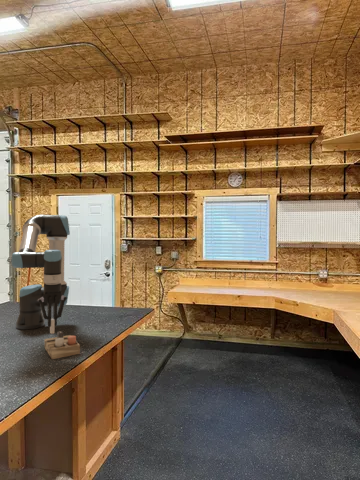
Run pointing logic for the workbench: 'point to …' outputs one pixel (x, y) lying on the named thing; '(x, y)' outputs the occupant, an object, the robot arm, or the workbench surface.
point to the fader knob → (59, 334)
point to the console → (61, 348)
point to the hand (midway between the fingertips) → (52, 332)
